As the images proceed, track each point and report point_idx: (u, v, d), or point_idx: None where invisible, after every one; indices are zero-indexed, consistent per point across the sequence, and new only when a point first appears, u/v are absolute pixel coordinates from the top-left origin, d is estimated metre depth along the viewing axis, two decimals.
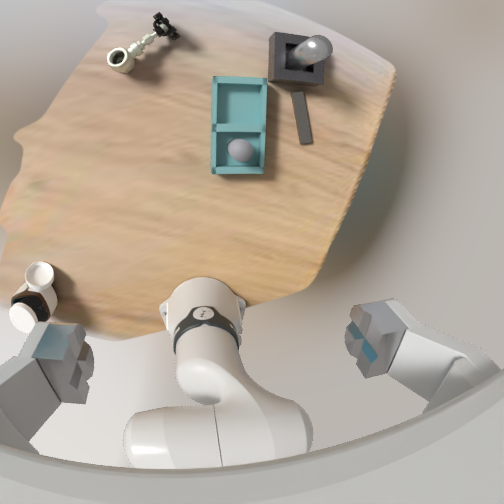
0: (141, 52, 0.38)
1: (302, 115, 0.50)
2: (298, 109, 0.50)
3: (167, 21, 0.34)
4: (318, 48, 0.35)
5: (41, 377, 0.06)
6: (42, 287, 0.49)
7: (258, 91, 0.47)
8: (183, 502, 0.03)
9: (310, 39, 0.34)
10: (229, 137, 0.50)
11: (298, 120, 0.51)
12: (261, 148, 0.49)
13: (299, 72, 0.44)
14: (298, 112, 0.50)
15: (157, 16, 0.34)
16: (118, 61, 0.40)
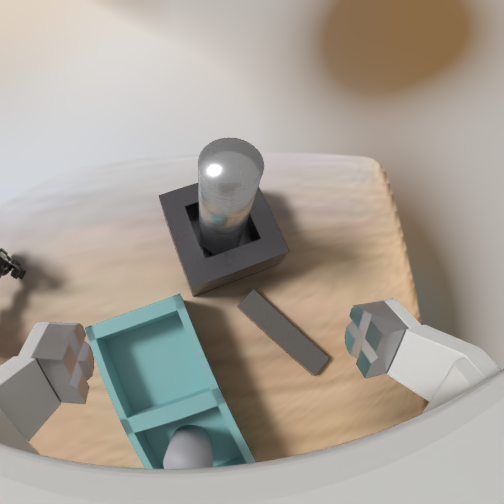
0: None
1: (282, 330, 0.27)
2: (269, 325, 0.27)
3: None
4: (228, 168, 0.17)
5: (41, 377, 0.06)
6: None
7: (182, 324, 0.26)
8: (183, 502, 0.03)
9: (202, 157, 0.17)
10: (169, 429, 0.22)
11: (283, 342, 0.27)
12: (233, 433, 0.21)
13: (234, 251, 0.25)
14: (272, 330, 0.27)
15: None
16: None
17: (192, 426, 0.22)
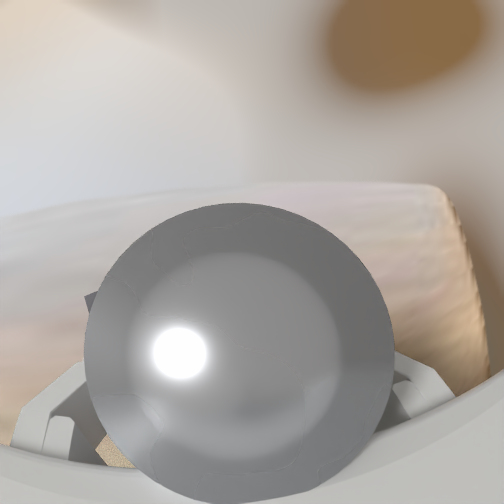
0: None
1: None
2: None
3: None
4: (240, 394, 0.03)
5: None
6: None
7: None
8: (183, 502, 0.03)
9: (101, 330, 0.03)
10: None
11: None
12: None
13: None
14: None
15: None
16: None
17: None
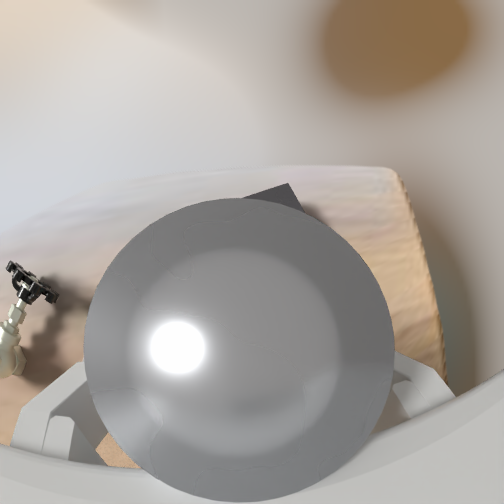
0: (14, 339, 0.21)
1: None
2: None
3: (20, 274, 0.21)
4: (240, 388, 0.03)
5: None
6: None
7: None
8: (183, 502, 0.03)
9: (100, 324, 0.03)
10: None
11: None
12: None
13: None
14: None
15: (9, 269, 0.21)
16: None
17: None
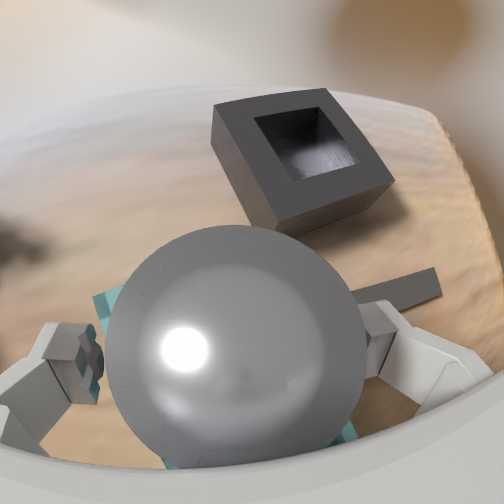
0: None
1: (387, 296, 0.18)
2: None
3: None
4: (234, 384, 0.04)
5: (52, 378, 0.06)
6: None
7: None
8: (183, 502, 0.03)
9: (119, 332, 0.04)
10: None
11: (399, 305, 0.18)
12: None
13: (332, 175, 0.17)
14: None
15: None
16: None
17: None
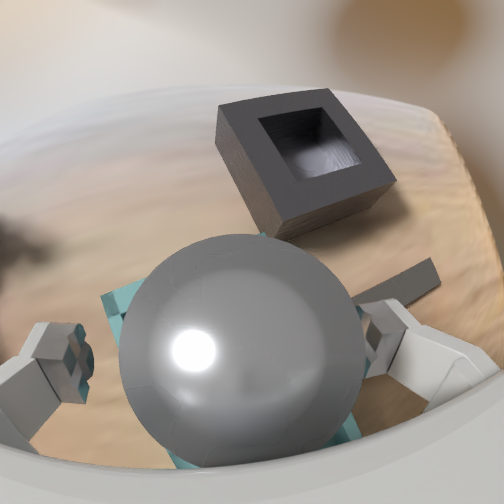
0: None
1: (389, 294, 0.19)
2: None
3: None
4: (240, 384, 0.04)
5: (41, 377, 0.06)
6: None
7: None
8: (183, 502, 0.03)
9: (132, 337, 0.04)
10: None
11: (401, 301, 0.19)
12: None
13: (335, 175, 0.17)
14: None
15: None
16: None
17: None
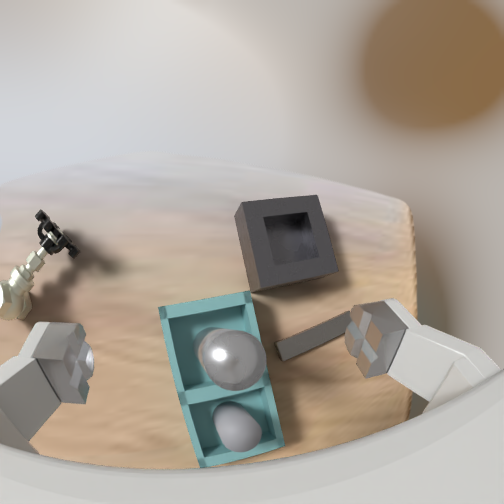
0: (28, 285, 0.23)
1: (315, 335, 0.33)
2: (308, 344, 0.32)
3: (51, 225, 0.23)
4: (233, 367, 0.18)
5: (41, 377, 0.06)
6: None
7: (240, 315, 0.31)
8: (183, 502, 0.03)
9: (209, 352, 0.18)
10: (213, 403, 0.28)
11: (323, 339, 0.33)
12: (271, 411, 0.27)
13: (298, 264, 0.31)
14: (312, 343, 0.32)
15: (38, 217, 0.23)
16: None
17: (234, 402, 0.28)
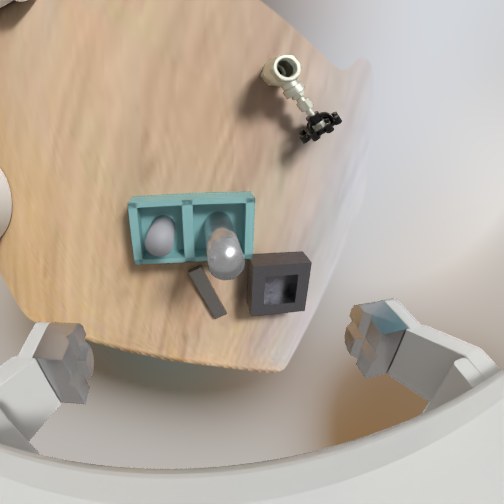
0: (287, 96, 0.34)
1: (208, 292, 0.48)
2: (201, 288, 0.47)
3: (328, 131, 0.35)
4: (223, 262, 0.32)
5: (41, 377, 0.06)
6: None
7: None
8: (183, 502, 0.03)
9: (235, 250, 0.32)
10: (175, 217, 0.41)
11: (205, 298, 0.48)
12: (164, 259, 0.41)
13: (262, 291, 0.46)
14: (202, 291, 0.47)
15: (336, 119, 0.35)
16: (279, 66, 0.35)
17: (174, 233, 0.42)
